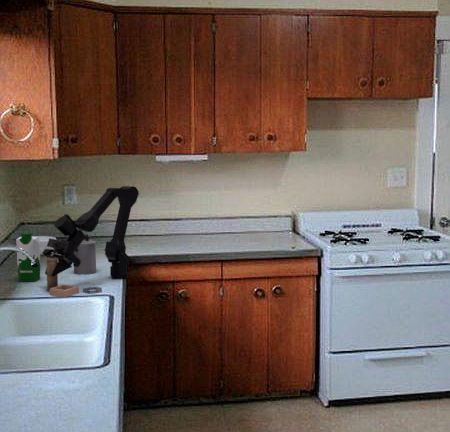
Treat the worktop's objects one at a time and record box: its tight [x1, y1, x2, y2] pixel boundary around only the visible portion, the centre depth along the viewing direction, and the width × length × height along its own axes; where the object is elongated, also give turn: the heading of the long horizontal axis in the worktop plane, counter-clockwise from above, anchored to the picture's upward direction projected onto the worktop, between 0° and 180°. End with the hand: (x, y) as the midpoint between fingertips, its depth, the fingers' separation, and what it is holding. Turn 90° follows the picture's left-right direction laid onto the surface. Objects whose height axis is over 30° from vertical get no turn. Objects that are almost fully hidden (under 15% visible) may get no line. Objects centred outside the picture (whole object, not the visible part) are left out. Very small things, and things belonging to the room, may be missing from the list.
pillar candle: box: [73, 239, 97, 275], centre depth 287 cm, size 10×10×15 cm
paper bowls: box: [39, 235, 57, 256], centre depth 335 cm, size 15×15×8 cm
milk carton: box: [15, 232, 41, 283], centre depth 272 cm, size 9×9×20 cm
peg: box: [45, 257, 59, 293], centre depth 253 cm, size 4×4×13 cm
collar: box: [49, 284, 80, 298], centre depth 248 cm, size 8×8×2 cm
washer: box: [82, 286, 103, 294], centre depth 253 cm, size 7×7×1 cm
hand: (49, 275), depth 251 cm, fingers closed on peg, 4 cm apart
